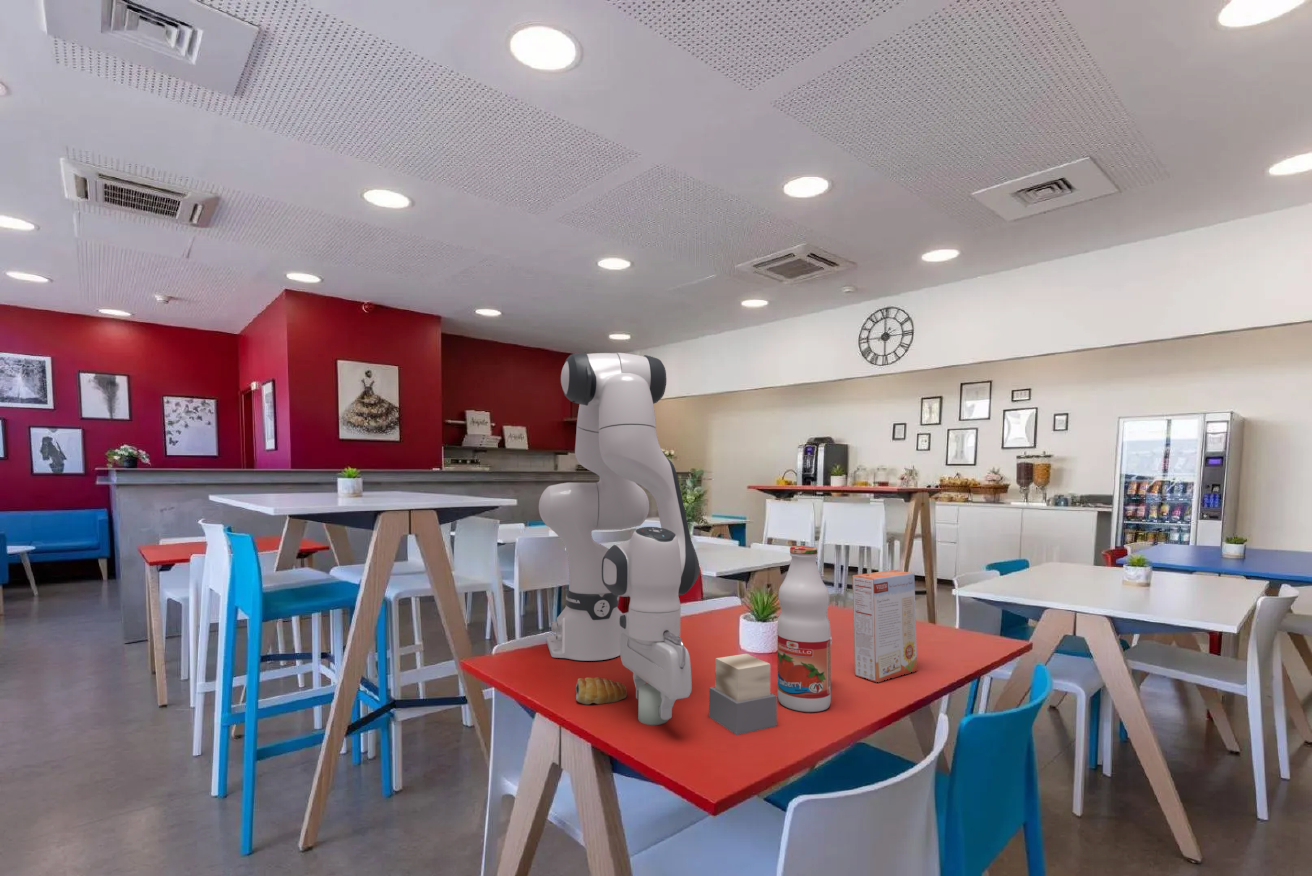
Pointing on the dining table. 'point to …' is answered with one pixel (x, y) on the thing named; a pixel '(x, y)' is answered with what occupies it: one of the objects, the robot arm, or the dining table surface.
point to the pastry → (599, 691)
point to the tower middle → (742, 677)
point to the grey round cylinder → (649, 705)
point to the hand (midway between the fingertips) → (653, 708)
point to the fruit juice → (804, 635)
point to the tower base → (742, 712)
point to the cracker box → (884, 625)
